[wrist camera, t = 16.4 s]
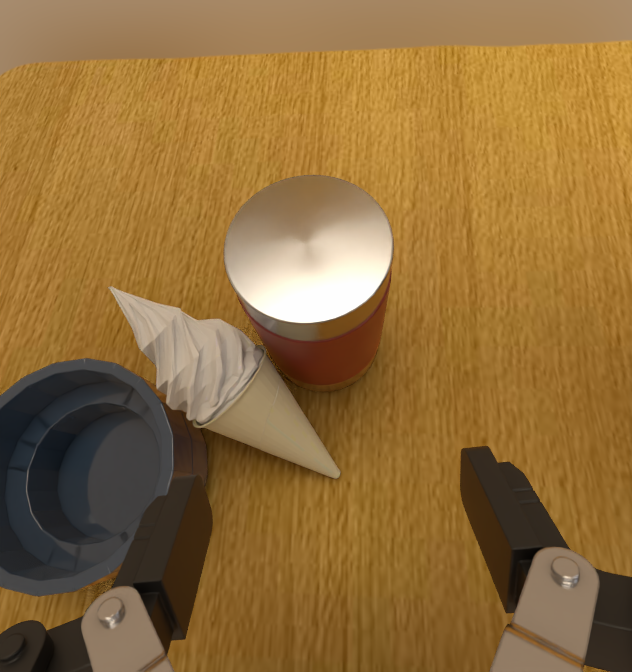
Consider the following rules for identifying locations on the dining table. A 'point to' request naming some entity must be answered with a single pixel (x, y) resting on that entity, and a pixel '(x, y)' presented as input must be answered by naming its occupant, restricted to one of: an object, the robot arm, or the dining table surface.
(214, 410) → the ice cream cone
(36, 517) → the bowl
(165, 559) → the robot arm
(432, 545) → the dining table surface
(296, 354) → the tin can
